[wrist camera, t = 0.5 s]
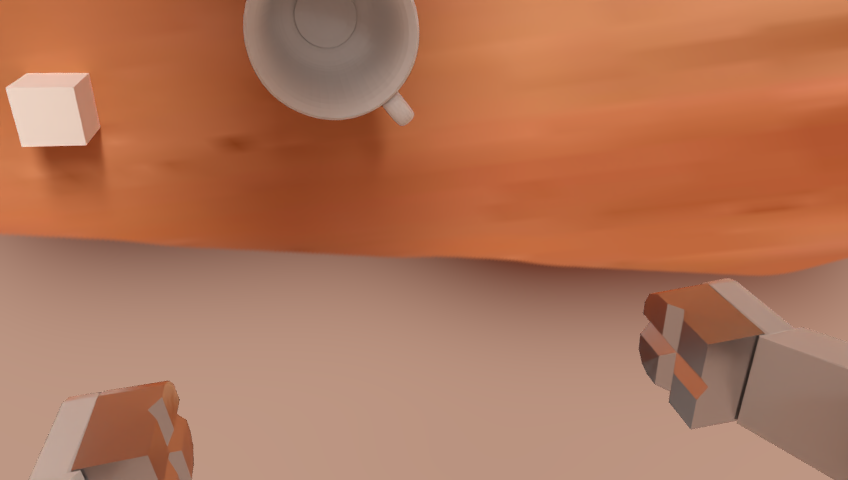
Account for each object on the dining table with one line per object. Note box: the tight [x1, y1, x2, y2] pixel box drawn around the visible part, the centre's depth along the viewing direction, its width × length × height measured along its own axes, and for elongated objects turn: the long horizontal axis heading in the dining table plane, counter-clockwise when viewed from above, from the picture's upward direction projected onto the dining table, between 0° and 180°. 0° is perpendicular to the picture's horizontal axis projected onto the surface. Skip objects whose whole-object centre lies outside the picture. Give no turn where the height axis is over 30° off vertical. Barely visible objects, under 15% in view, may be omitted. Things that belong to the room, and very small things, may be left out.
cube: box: [6, 73, 100, 147], centre depth 48 cm, size 4×4×4 cm
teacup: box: [243, 0, 419, 126], centre depth 47 cm, size 12×15×10 cm
